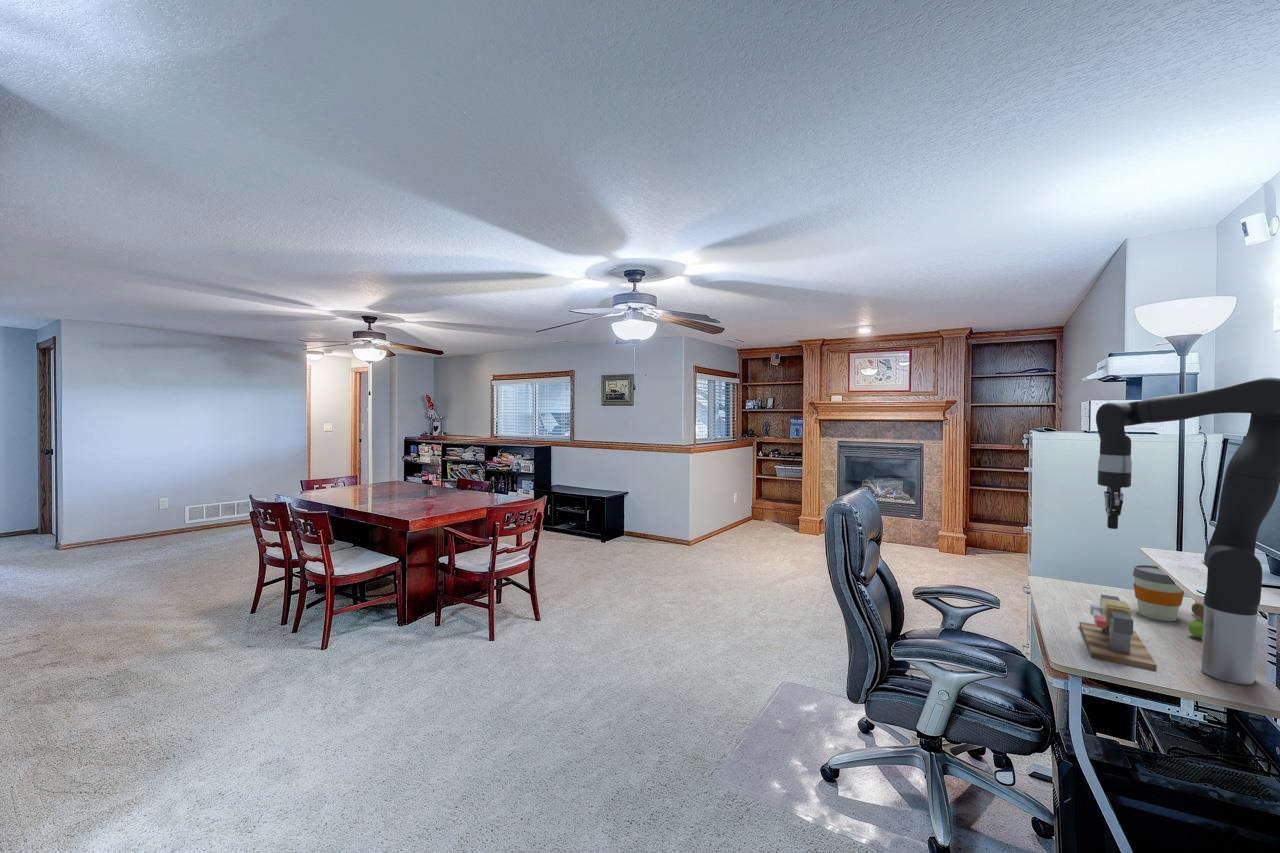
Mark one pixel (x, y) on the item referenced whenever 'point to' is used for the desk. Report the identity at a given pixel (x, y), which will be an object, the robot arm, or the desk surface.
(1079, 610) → the desk surface
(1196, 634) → the snail figurine
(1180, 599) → the reusable coffee cup
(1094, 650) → the base board
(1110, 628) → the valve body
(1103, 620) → the valve lever
